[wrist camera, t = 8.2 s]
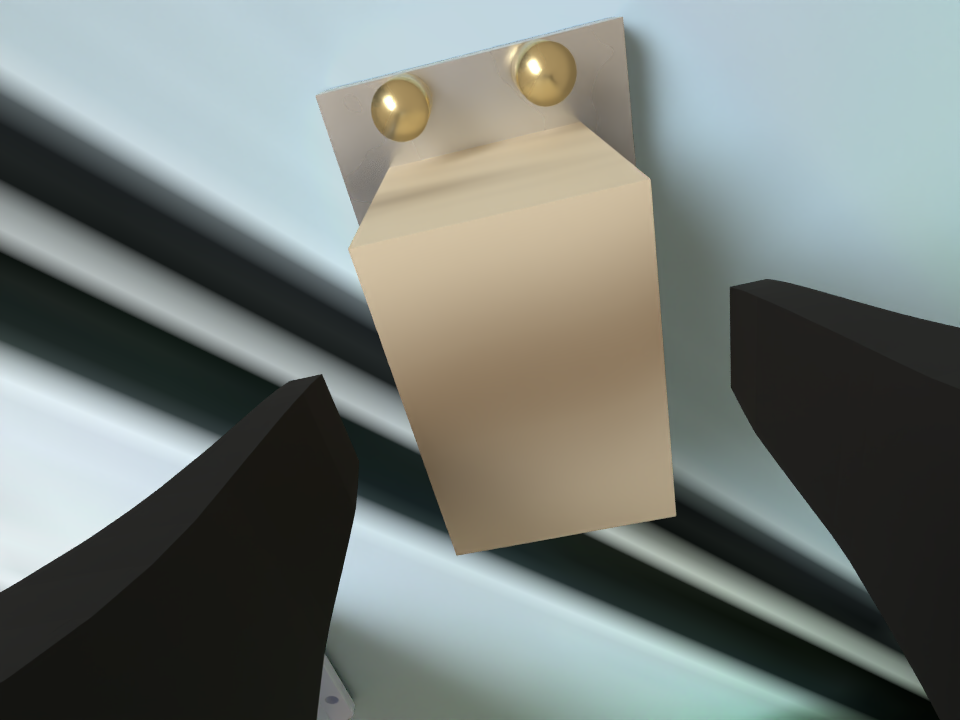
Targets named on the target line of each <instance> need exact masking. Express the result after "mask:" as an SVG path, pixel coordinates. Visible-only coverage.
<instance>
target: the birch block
mask: <svg viewBox="0 0 960 720" xmlns="http://www.w3.org/2000/svg"><path fill="white" fill-rule="evenodd" d="M348 250H349V253H350V255H351V258H352V261H353V264H354V267H355V270H356V272H357V275H358V278H359V281H360V284H361V286H362V289H363V292H364V295H365V298H366V301H367V303H368V306H369V309H370V312H371V315H372V318H373V320H374V323H375V326H376V329H377V332H378V334H379V337H380V340H381V343H382V346H383V349H384V351H385V354H386V357H387V360H388V363H389V366H390V368H391V371H392V374H393V377H394V380H395V383H396V385H397V388H398V391H399V394H400V397H401V399H402V402H403V405H404V408H405V411H406V414H407V416H408V419H409V422H410V425H411V428H412V431H413V433H414V436H415V439H416V442H417V445H418V447H419V450H420V453H421V456H422V459H423V462H424V464H425V467H426V470H427V473H428V476H429V479H430V481H431V484H432V487H433V490H434V493H435V496H436V498H437V501H438V504H439V507H440V510H441V512H442V515H443V518H444V521H445V524H446V527H447V529H448V532H449V535H450V538H451V541H452V544H453V546H454V549H455V552H456V555H463V554H468V553H474V552H479V551H485V550H490V549H496V548H501V547H507V546H513V545H518V544H524V543H529V542H535V541H540V540H546V539H551V538H557V537H563V536H568V535H574V534H579V533H585V532H590V531H596V530H601V529H607V528H613V527H618V526H624V525H629V524H635V523H640V522H646V521H651V520H657V519H663V518H668V517H674V516H676V508H675V495H674V482H673V468H672V455H671V442H670V429H669V416H668V402H667V389H666V376H665V363H664V349H663V336H662V323H661V310H660V296H659V283H658V270H657V257H656V244H655V230H654V217H653V204H652V191H651V179H650V178H649V177H647V176H646V175H645V174H644V173H643V172H641V171H640V170H639V169H638V168H636V167H635V166H634V165H633V164H632V163H630V162H629V161H628V160H627V159H625V158H624V157H623V156H622V155H621V154H619V153H618V152H617V151H616V150H614V149H613V148H612V147H611V146H610V145H608V144H607V143H606V142H605V141H603V140H602V139H601V138H600V137H599V136H597V135H596V134H595V133H594V132H592V131H591V130H590V129H589V128H588V127H586V126H585V125H584V124H583V123H581V122H577V123H573V124H569V125H565V126H561V127H557V128H552V129H548V130H544V131H540V132H536V133H532V134H528V135H523V136H519V137H515V138H511V139H507V140H503V141H499V142H494V143H490V144H486V145H482V146H478V147H474V148H470V149H466V150H461V151H457V152H453V153H449V154H445V155H441V156H437V157H432V158H428V159H424V160H420V161H416V162H412V163H408V164H403V165H399V166H395V167H391V168H389V169H388V171H387V173H386V175H385V177H384V179H383V181H382V183H381V185H380V187H379V189H378V191H377V193H376V195H375V197H374V199H373V201H372V203H371V205H370V207H369V209H368V211H367V213H366V215H365V217H364V218H363V220H362V222H361V224H360V226H359V228H358V230H357V232H356V234H355V236H354V238H353V240H352V242H351V244H350V246H349V248H348Z"/></svg>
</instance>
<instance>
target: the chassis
mask: <svg viewBox="0 0 960 720" xmlns="http://www.w3.org/2000/svg"><path fill="white" fill-rule="evenodd" d="M316 99H317V102H318V105H319V108H320V111H321V114H322V117H323V120H324V123H325V126H326V129H327V132H328V135H329V138H330V141H331V144H332V147H333V150H334V153H335V155H336V158H337V161H338V164H339V167H340V170H341V173H342V176H343V179H344V182H345V185H346V188H347V191H348V194H349V197H350V200H351V203H352V206H353V209H354V212H355V215H356V218H357V221H358V224H359V226H360V224H361V222H362V220H363V218H364V217H365V215H366V213H367V211H368V209H369V207H370V205H371V203H372V201H373V199H374V197H375V195H376V193H377V191H378V189H379V187H380V185H381V183H382V181H383V179H384V177H385V175H386V173H387V171H388V169H389V168H391V167H395V166H399V165H403V164H408V163H412V162H416V161H420V160H424V159H428V158H432V157H437V156H441V155H445V154H449V153H453V152H457V151H461V150H466V149H470V148H474V147H478V146H482V145H486V144H490V143H494V142H499V141H503V140H507V139H511V138H515V137H519V136H523V135H528V134H532V133H536V132H540V131H544V130H548V129H552V128H557V127H561V126H565V125H569V124H573V123H577V122H581V123H583V124H584V125H585V126H586V127H588V128H589V129H590V130H591V131H592V132H594V133H595V134H596V135H597V136H599V137H600V138H601V139H602V140H603V141H605V142H606V143H607V144H608V145H610V146H611V147H612V148H613V149H614V150H616V151H617V152H618V153H619V154H621V155H622V156H623V157H624V158H625V159H627V160H628V161H629V162H630V163H632V164H633V165H634V166H635V167H636V161H635V150H634V138H633V127H632V115H631V104H630V93H629V81H628V70H627V58H626V47H625V35H624V24H623V17H610V18H606V19H603V20H599V21H595V22H591V23H587V24H583V25H579V26H575V27H571V28H567V29H564V30H560V31H556V32H552V33H548V34H544V35H540V36H536V37H532V38H528V39H525V40H521V41H517V42H513V43H509V44H505V45H501V46H497V47H493V48H490V49H486V50H482V51H478V52H474V53H470V54H466V55H462V56H458V57H454V58H451V59H447V60H443V61H439V62H435V63H431V64H427V65H423V66H419V67H415V68H412V69H408V70H404V71H400V72H396V73H392V74H388V75H384V76H380V77H376V78H373V79H369V80H365V81H361V82H357V83H353V84H349V85H345V86H341V87H337V88H334V89H330V90H326V91H324V92H322V93H320V94H318V95H316Z"/></svg>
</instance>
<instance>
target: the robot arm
mask: <svg viewBox="0 0 960 720" xmlns="http://www.w3.org/2000/svg"><path fill="white" fill-rule="evenodd" d="M730 345H731V388H732V390H733V392H734V394H735V396H736V398H737V400H738V402H739V404H740V406H741V408H742V410H743V412H744V414H745V415H746V417H747V419H748V421H749V423H750V424H751V426H752V428H753V430H754V431H755V433H756V435H757V436H758V437H759V439H760V440H761V441H762V443H763V444H764V446H765V447H766V448H767V450H768V451H769V452H770V454H771V455H772V456H773V458H774V459H775V460H776V462H777V463H778V465H779V466H780V467H781V469H782V470H783V471H784V473H785V474H786V475H787V477H788V478H789V479H790V481H791V482H792V483H793V484H794V486H795V487H796V488H797V490H798V491H799V492H800V494H801V495H802V496H803V498H804V499H805V500H806V502H807V503H808V504H809V506H810V507H811V508H812V510H813V511H814V512H815V514H816V515H817V516H818V518H819V519H820V520H821V522H822V523H823V524H824V526H825V527H826V528H827V530H828V531H829V532H830V534H831V535H832V536H833V538H834V539H835V541H836V542H837V544H838V545H839V546H840V548H841V549H842V551H843V552H844V554H845V555H846V557H847V558H848V560H849V561H850V563H851V564H852V566H853V568H854V569H855V571H856V573H857V574H858V576H859V578H860V579H861V581H862V583H863V584H864V586H865V588H866V589H867V591H868V593H869V594H870V596H871V598H872V599H873V601H874V603H875V604H876V606H877V608H878V609H879V611H880V613H881V614H882V616H883V618H884V619H885V621H886V623H887V625H888V627H889V628H890V630H891V632H892V634H893V635H894V637H895V639H896V641H897V642H898V644H899V646H900V648H901V650H902V651H903V653H904V655H905V657H906V658H907V660H908V662H909V664H910V665H911V667H912V669H913V671H914V673H915V674H916V676H917V678H918V680H919V681H920V683H921V685H922V687H923V689H924V691H925V692H926V694H927V696H928V698H929V700H930V702H931V704H932V706H933V708H934V709H935V711H936V713H937V715H938V717H939V719H940V720H960V328H958V327H954V326H950V325H945V324H941V323H937V322H932V321H928V320H924V319H919V318H916V317H912V316H908V315H904V314H900V313H896V312H892V311H889V310H885V309H881V308H877V307H874V306H870V305H867V304H863V303H859V302H856V301H852V300H849V299H845V298H842V297H838V296H835V295H831V294H828V293H824V292H821V291H817V290H814V289H810V288H806V287H802V286H799V285H795V284H791V283H786V282H782V281H777V280H770V279H765V280H760V281H756V282H751V283H746V284H742V285H737V286H732V287H730ZM358 472H359V460H358V458H357V455H356V453H355V451H354V448H353V446H352V444H351V441H350V439H349V437H348V434H347V432H346V430H345V427H344V425H343V422H342V420H341V418H340V415H339V413H338V411H337V408H336V406H335V404H334V401H333V399H332V397H331V394H330V392H329V390H328V387H327V385H326V382H325V380H324V378H323V375H322V374H321V375H316V376H312V377H307V378H302V379H298V380H293V381H289V382H288V383H286V384H285V385H283V386H282V387H280V388H279V389H278V390H276V391H275V392H274V393H272V394H271V395H270V396H269V397H268V398H266V399H265V400H264V401H263V402H262V403H260V404H259V405H258V406H257V407H256V408H254V409H253V410H252V411H251V412H250V413H249V414H248V415H246V416H245V417H244V418H243V419H242V420H241V421H240V422H238V423H237V424H236V425H235V426H234V427H233V428H231V429H230V430H229V431H228V432H227V433H226V434H225V435H223V436H222V437H221V438H220V439H219V440H218V441H217V442H215V443H214V444H213V445H212V446H211V447H210V448H208V449H207V450H206V451H205V452H204V453H202V454H201V455H200V456H199V457H197V458H196V459H195V460H194V461H192V462H191V463H190V464H189V465H188V466H186V467H185V468H184V469H183V470H181V471H180V472H179V473H178V474H176V475H175V476H174V477H173V478H172V479H170V480H169V481H168V482H167V483H165V484H164V485H163V486H162V487H161V488H159V489H158V490H157V491H155V492H154V493H153V494H151V495H150V496H149V497H147V498H146V499H145V500H143V501H142V502H141V503H139V504H138V505H137V506H135V507H134V508H132V509H131V510H130V511H128V512H127V513H125V514H124V515H122V516H121V517H120V518H118V519H117V520H115V521H114V522H112V523H111V524H109V525H108V526H107V527H105V528H104V529H102V530H101V531H99V532H98V533H96V534H95V535H93V536H92V537H90V538H89V539H87V540H86V541H84V542H83V543H81V544H80V545H78V546H76V547H75V548H73V549H71V550H70V551H68V552H66V553H65V554H63V555H62V556H60V557H58V558H57V559H55V560H53V561H52V562H50V563H48V564H47V565H45V566H44V567H42V568H40V569H39V570H37V571H35V572H34V573H32V574H31V575H29V576H27V577H26V578H24V579H22V580H21V581H19V582H17V583H16V584H14V585H12V586H11V587H9V588H7V589H5V590H4V591H2V592H0V720H348V719H350V718H351V717H352V716H353V714H354V709H355V704H354V702H353V700H352V699H351V697H350V695H349V693H348V692H347V690H346V688H345V687H344V685H343V683H342V682H341V680H340V678H339V677H338V675H337V673H336V672H335V670H334V668H333V666H332V665H331V663H330V661H329V660H328V658H327V656H326V655H325V648H326V642H327V637H328V631H329V626H330V621H331V617H332V613H333V608H334V604H335V600H336V595H337V591H338V587H339V582H340V578H341V573H342V569H343V565H344V560H345V556H346V552H347V547H348V543H349V538H350V534H351V529H352V525H353V520H354V515H355V510H356V500H357V489H358Z"/></svg>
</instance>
